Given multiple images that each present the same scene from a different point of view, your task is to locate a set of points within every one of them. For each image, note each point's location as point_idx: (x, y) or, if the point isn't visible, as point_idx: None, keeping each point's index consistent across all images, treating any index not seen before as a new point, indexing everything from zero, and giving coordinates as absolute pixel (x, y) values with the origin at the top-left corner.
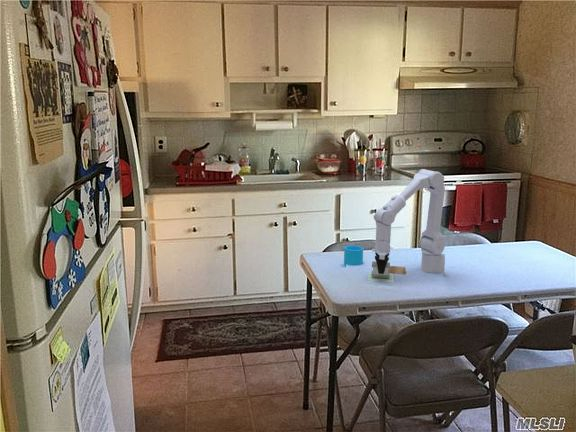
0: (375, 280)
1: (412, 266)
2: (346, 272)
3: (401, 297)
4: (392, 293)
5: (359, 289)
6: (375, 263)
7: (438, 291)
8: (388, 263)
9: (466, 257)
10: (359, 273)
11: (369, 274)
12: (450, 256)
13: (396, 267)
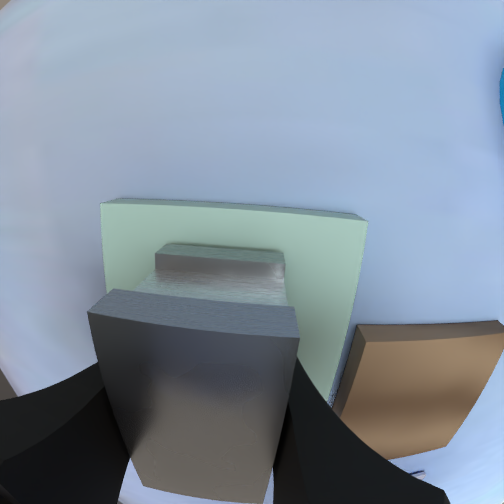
0: (113, 276)
1: (473, 441)
2: (411, 25)
3: (13, 368)
4: (28, 345)
5: (16, 147)
6: (165, 379)
7: (147, 493)
8: (220, 494)
9: (473, 501)
10: (413, 130)
11: (294, 223)
12: (496, 480)
13: (452, 416)
